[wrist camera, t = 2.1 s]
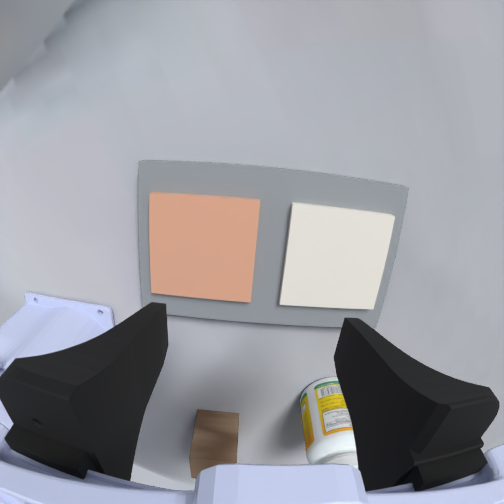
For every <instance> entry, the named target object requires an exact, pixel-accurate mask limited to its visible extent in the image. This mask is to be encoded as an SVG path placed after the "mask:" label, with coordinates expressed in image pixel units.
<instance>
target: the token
mask: <svg viewBox="0 0 504 504" xmlns="http://www.w3.org/2000/svg"><path fill="white" fill-rule="evenodd" d="M238 426H239V413H229V412H218V411H208V410H199V409H198V411H197V417H196V422H195V428H194V433H193V439H192V445H191V450H190V456H189V461H190V469H191V477H192V478H195V479H196V478H197V477H198V475H199V473H200V472H201V471H202V470H204V469H207V468H210V467H213V466H215V465H218V464H235V463H237V446H238Z"/></svg>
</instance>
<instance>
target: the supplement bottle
mask: <svg viewBox="0 0 504 504" xmlns="http://www.w3.org/2000/svg"><path fill="white" fill-rule="evenodd" d="M300 407H301V415H302V423H303V430H304V438H305V447H306V455H307V459H308V462H309V463H310V464H327V463H336V464H348V465H351V466H353V467H355V468H356V469H358V461H357V453H356V445H355V439H354V433H353V427H352V423H351V419H350V416H349V412H348V409H347V406H346V403H345V400H344V397H343V394H342V391H341V388H340V384H339V381H338V378H337V377H328V378H323V379H320V380H318V381H315V382H314V383H312V384H310V385H309V386H308V387H307V388H306V389H305V390H304V391H303V393H302V395H301V399H300Z"/></svg>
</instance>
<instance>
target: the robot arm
mask: <svg viewBox="0 0 504 504" xmlns="http://www.w3.org/2000/svg"><path fill="white" fill-rule="evenodd" d="M36 299H37V300H38V301H37V300H36ZM25 302H26V304H25V305H24V306H23V307H22V308H21V309H20V310H19V311H17V312H16V313H15V314H14V315H13V316H12V317H11V318H10V319H9V320H8V321H7V322H6V323H5V324H3V325H2V326H1V327H0V504H504V444H502V445H500V446H497V447H494V448H492V449H490V450H488V451H487V452H485V453H484V454H483V453H482V451H481V449H480V448H482V447H483V445H484V443H483V441H482V439H481V436H482V435H483V434H484V432H485V431H486V430H487V428H488V427H489V426H490V424H491V423H492V421H493V420H494V418H495V417H496V415H497V412H498V410H499V401H498V399H497V398H496V396H495V395H494V393H493V392H492V390H491V389H490V388H489V387H485V386H480V385H476V384H472V383H468V382H465V381H461V380H458V379H455V378H453V377H450V376H447V375H445V374H443V373H440V372H438V371H436V370H434V369H432V368H430V367H428V366H426V365H424V364H422V363H420V362H419V361H417V360H415V359H413V358H412V357H410V356H409V355H407V354H406V353H404V352H403V351H401V350H400V349H398V348H397V347H396V346H394V345H393V344H392V343H390V342H389V341H388V340H386V339H385V338H384V337H383V336H381V335H380V334H379V333H378V332H376V331H375V330H374V329H373V328H371V327H370V326H369V325H368V324H366V323H365V322H364V321H362V320H361V319H359V318H346V317H345V318H344V322H343V325H342V329H341V333H340V337H339V340H338V344H337V347H336V351H335V354H334V361H335V368H336V373H337V378H338V381H339V384H340V388H341V391H342V394H343V397H344V400H345V403H346V406H347V409H348V412H349V416H350V419H351V423H352V427H353V433H354V439H355V445H356V453H357V461H358V469H356V468H355V467H353V466H351V465H348V464H336V463H327V464H304V465H264V464H242V463H235V464H218V465H215V466H213V467H210V468H207V469H204V470H202V471H201V472H200V473H199V475H198V477H197V478H196V483H195V490H194V491H181V490H171V489H165V488H160V487H154V486H149V485H144V484H140V483H136V482H131V481H130V479H131V472H132V466H133V461H134V455H135V450H136V445H137V441H138V436H139V432H140V428H141V424H142V420H143V416H144V412H145V409H146V406H147V404H148V401H149V399H150V396H151V394H152V391H153V389H154V386H155V384H156V381H157V379H158V376H159V374H160V372H161V369H162V367H163V364H164V360H165V356H166V352H167V348H168V331H167V311H166V304H165V303H157V302H151V303H149V304H148V305H146V306H145V307H143V308H142V309H140V310H139V311H137V312H136V313H135V314H133V315H132V316H130V317H129V318H127V319H126V320H124V321H123V322H121V323H120V324H118V325H116V326H114V319H113V312H112V310H111V308H109V307H107V306H102V305H96V304H90V303H83V302H78V301H72V300H66V299H61V298H55V297H50V296H45V295H39V294H34V293H29V292H28V293H26V294H25ZM100 310H101V311H102V312H103V313H101V312H100Z"/></svg>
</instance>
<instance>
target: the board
mask: <svg viewBox="0 0 504 504" xmlns="http://www.w3.org/2000/svg"><path fill="white" fill-rule="evenodd" d="M408 191H409V188H408V187H405V186H402V185H396V184H391V183H385V182H379V181H373V180H367V179H360V178H354V177H347V176H340V175H333V174H325V173H317V172H309V171H301V170H292V169H283V168H273V167H262V166H251V165H238V164H224V163H208V162H189V161H162V160H142V161H139V169H138V237H139V264H140V282H141V296H142V308H143V307H145V306H146V305H148V304H149V303H151V302H157V303H165V304H166V311H167V314H169V315H178V316H187V317H196V318H206V319H217V320H228V321H239V322H252V323H266V324H281V325H299V326H320V327H342V325H343V322H344V318H345V317H346V318H359V319H361V320H362V321H364V322H365V323H366V324H368V325H369V326H370V327H371V328H376V326H377V323H378V319H379V316H380V313H381V309H382V306H383V302H384V299H385V295H386V292H387V288H388V284H389V280H390V277H391V273H392V269H393V264H394V260H395V256H396V252H397V247H398V243H399V238H400V234H401V229H402V224H403V219H404V214H405V208H406V203H407V197H408Z"/></svg>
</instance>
